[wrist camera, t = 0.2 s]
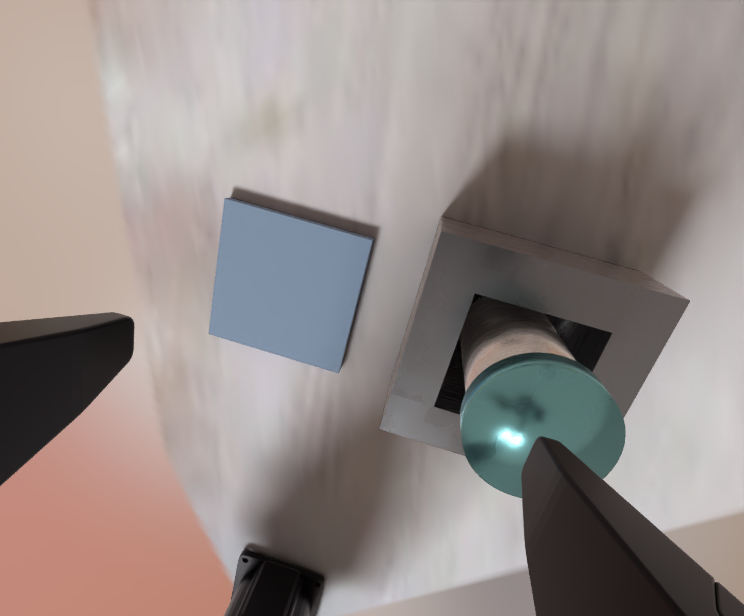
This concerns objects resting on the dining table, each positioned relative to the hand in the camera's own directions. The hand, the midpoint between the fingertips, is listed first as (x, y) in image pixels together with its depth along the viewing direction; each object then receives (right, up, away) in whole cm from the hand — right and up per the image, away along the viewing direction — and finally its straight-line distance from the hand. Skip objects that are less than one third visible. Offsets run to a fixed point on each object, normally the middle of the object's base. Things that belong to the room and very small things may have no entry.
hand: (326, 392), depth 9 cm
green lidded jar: (+8, +1, +14) cm, 16 cm away
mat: (-4, +3, +15) cm, 15 cm away
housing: (+8, 0, +14) cm, 16 cm away
